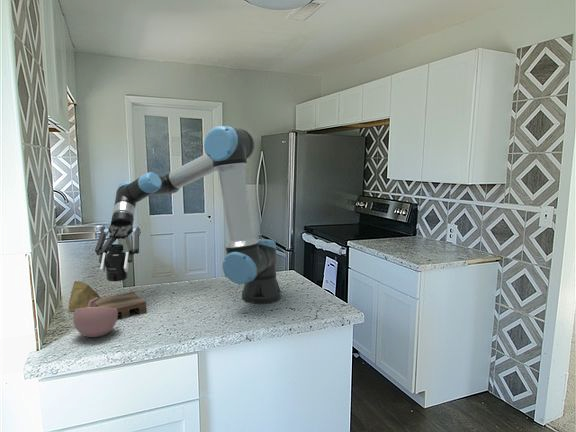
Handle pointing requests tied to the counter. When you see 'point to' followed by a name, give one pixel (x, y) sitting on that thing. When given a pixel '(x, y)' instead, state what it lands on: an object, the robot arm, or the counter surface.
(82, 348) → the counter surface
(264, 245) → the robot arm
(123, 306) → the block
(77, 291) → the rock
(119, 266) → the supplement bottle
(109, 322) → the mortar and pestle
